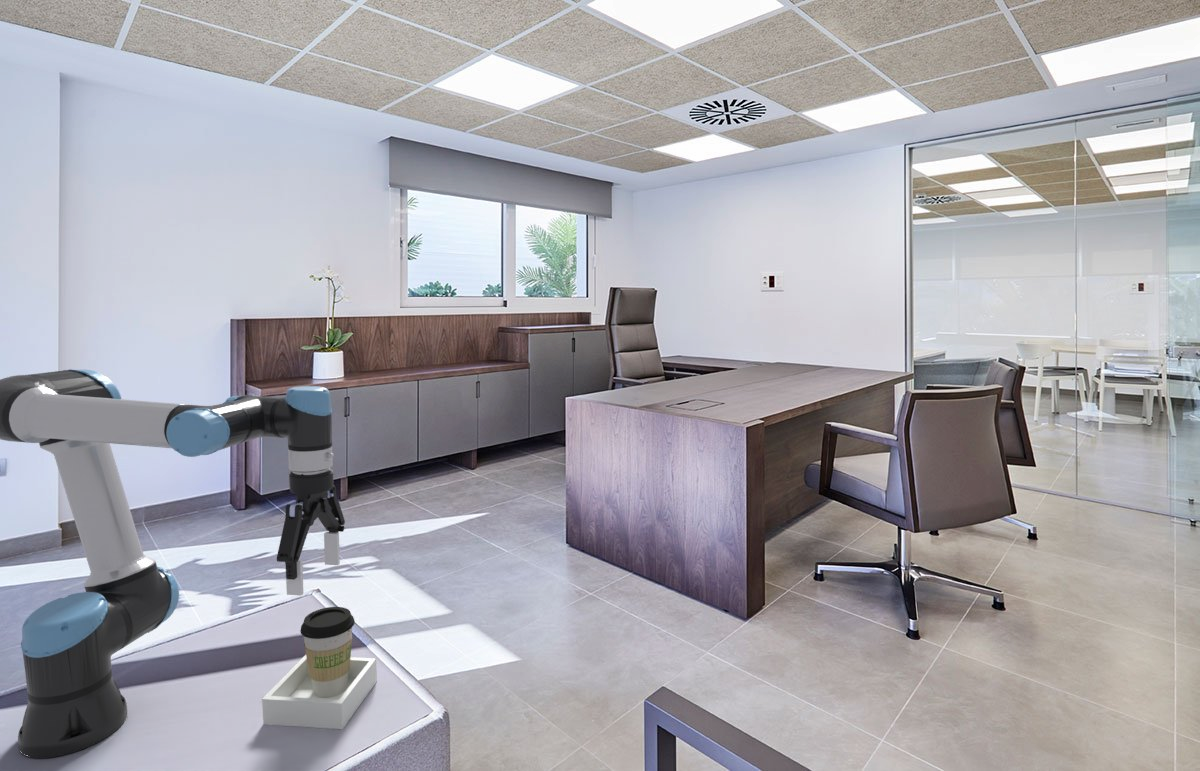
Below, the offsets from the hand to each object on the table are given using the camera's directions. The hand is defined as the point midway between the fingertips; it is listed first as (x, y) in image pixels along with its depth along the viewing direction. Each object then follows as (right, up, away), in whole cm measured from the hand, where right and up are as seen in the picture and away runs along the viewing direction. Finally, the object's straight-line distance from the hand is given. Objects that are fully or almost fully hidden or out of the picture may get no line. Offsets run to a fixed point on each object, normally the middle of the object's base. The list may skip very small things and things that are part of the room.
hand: (314, 578), depth 121 cm
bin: (0, -25, +3) cm, 25 cm away
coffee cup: (+1, -24, +5) cm, 24 cm away
